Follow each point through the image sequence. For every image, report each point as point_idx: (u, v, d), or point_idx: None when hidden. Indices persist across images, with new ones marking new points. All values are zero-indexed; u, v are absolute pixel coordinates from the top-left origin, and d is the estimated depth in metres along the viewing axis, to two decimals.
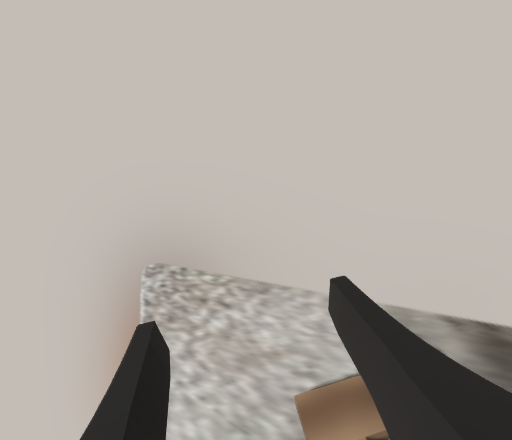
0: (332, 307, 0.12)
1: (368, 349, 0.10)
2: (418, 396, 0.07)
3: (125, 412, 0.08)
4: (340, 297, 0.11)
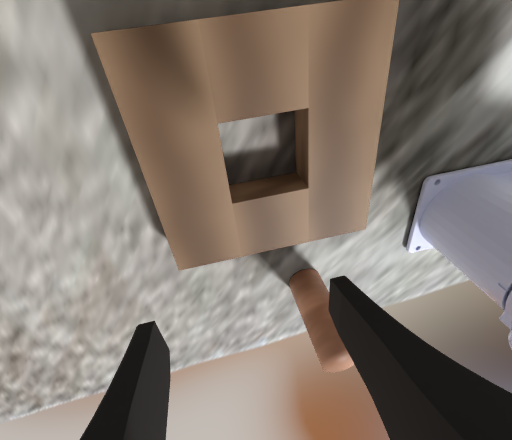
0: (332, 307, 0.12)
1: (368, 349, 0.10)
2: (418, 396, 0.07)
3: (125, 412, 0.08)
4: (340, 297, 0.11)
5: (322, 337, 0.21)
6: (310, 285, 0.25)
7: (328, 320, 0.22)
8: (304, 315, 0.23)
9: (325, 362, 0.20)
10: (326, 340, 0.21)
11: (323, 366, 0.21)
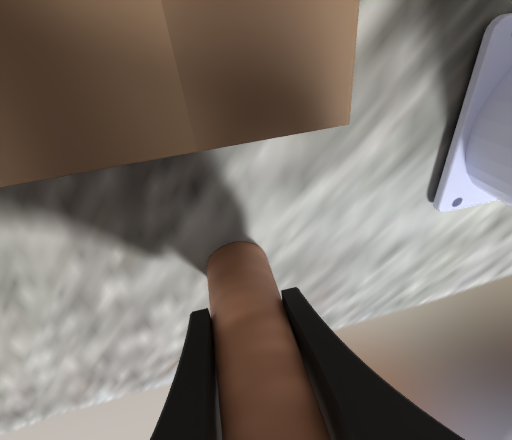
0: None
1: (310, 365, 0.09)
2: (342, 418, 0.07)
3: (199, 392, 0.08)
4: (288, 310, 0.11)
5: (234, 404, 0.08)
6: (236, 273, 0.12)
7: (257, 356, 0.09)
8: (214, 340, 0.10)
9: None
10: (241, 415, 0.08)
11: None
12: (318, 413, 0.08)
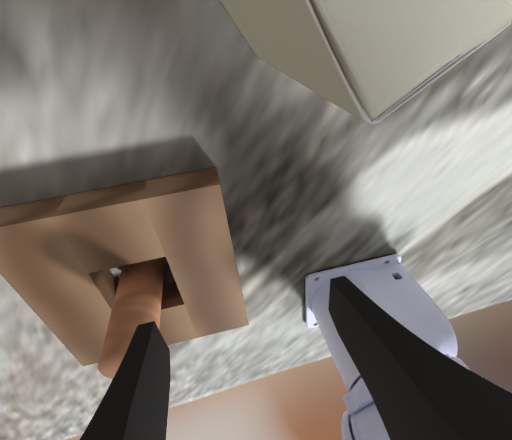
0: (332, 307, 0.12)
1: (368, 349, 0.10)
2: (418, 396, 0.07)
3: (125, 412, 0.08)
4: (340, 297, 0.11)
5: (107, 335, 0.16)
6: (131, 270, 0.20)
7: (124, 313, 0.17)
8: (112, 307, 0.19)
9: (101, 367, 0.16)
10: (108, 338, 0.16)
11: (103, 372, 0.16)
12: None
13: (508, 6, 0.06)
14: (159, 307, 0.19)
